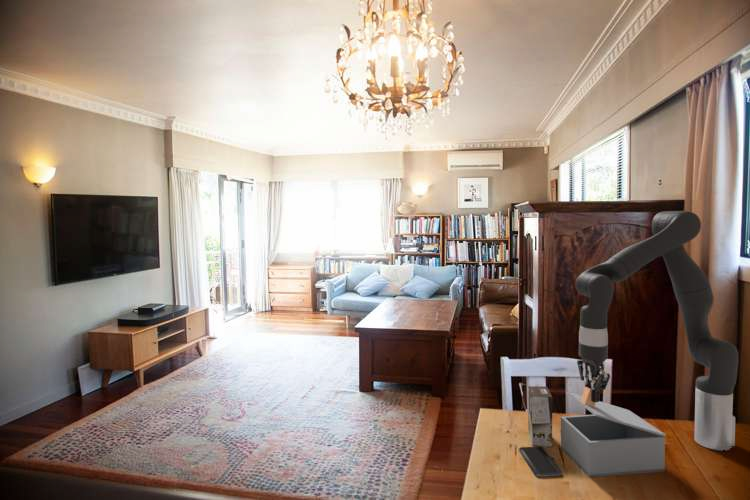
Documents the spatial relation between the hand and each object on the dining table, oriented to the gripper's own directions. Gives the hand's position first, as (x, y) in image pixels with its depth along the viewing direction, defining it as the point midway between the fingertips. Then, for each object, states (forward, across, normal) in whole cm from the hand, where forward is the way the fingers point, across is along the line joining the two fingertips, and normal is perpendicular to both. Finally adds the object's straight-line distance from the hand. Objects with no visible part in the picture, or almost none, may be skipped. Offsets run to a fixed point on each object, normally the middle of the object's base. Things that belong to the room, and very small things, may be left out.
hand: (592, 399), depth 130 cm
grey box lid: (+5, 0, -6) cm, 8 cm away
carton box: (+19, 0, -6) cm, 19 cm away
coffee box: (+19, +14, +9) cm, 25 cm away
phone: (+19, +1, +15) cm, 25 cm away
